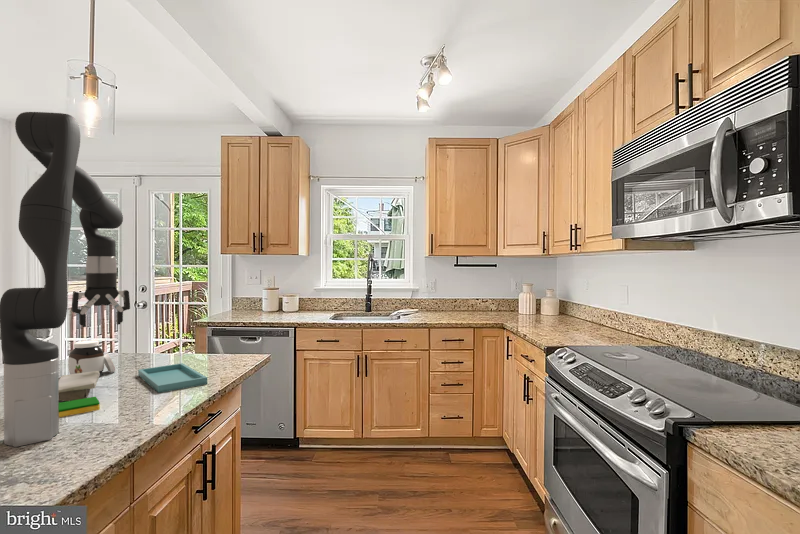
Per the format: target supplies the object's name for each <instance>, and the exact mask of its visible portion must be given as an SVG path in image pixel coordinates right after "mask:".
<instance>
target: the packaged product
mask: <svg viewBox="0 0 800 534" xmlns="http://www.w3.org/2000/svg"><path fill="white" fill-rule="evenodd" d="M100 375H101V374H100V373H99V371H92V372H85V373H77V374H70V373H69V374H64V375H61V376H60V378H59V401H62V402H66V401H72V400H78V399H84V398H89V397H88V396H89V394H90V391H91V389H96V386H97V385H98V384H97V383H98V381H99V378H100Z"/></svg>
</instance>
